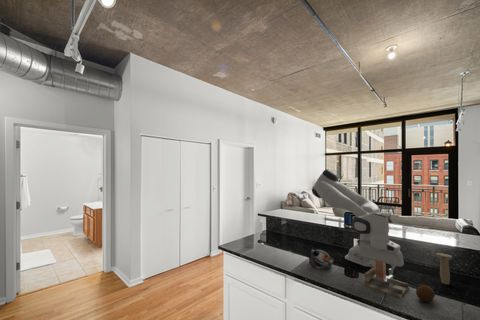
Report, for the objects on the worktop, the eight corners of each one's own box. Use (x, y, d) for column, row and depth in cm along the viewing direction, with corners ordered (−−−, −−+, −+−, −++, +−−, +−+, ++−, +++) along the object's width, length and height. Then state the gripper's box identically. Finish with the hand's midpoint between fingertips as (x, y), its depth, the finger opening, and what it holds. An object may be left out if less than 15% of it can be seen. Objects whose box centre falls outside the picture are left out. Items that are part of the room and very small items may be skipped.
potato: (436, 298, 107) (435, 282, 108) (434, 308, 99) (433, 292, 99) (418, 292, 112) (417, 278, 112) (415, 302, 103) (414, 287, 104)
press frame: (365, 285, 120) (364, 273, 120) (374, 277, 128) (374, 266, 128) (401, 297, 107) (400, 284, 108) (408, 288, 116) (408, 276, 116)
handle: (437, 279, 125) (436, 252, 126) (453, 284, 120) (452, 255, 121) (437, 282, 122) (435, 254, 123) (453, 287, 117) (451, 257, 118)
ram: (371, 282, 120) (370, 259, 121) (376, 278, 125) (375, 256, 125) (389, 288, 114) (388, 264, 114) (393, 283, 118) (392, 260, 119)
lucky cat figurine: (334, 265, 145) (338, 249, 139) (328, 278, 137) (331, 262, 131) (312, 253, 154) (314, 238, 148) (304, 265, 146) (306, 250, 140)
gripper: (356, 240, 127) (357, 265, 126) (400, 249, 111) (401, 278, 110) (361, 237, 131) (362, 262, 130) (404, 246, 115) (405, 274, 114)
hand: (380, 269), depth 120 cm, fingers open, 8 cm apart
